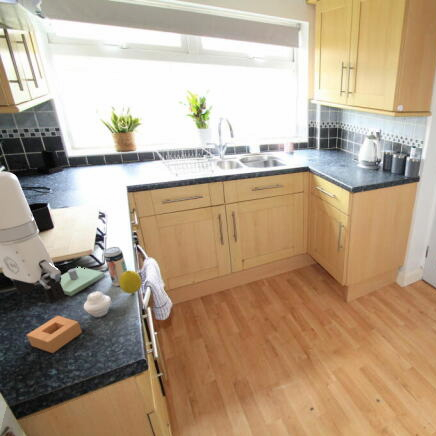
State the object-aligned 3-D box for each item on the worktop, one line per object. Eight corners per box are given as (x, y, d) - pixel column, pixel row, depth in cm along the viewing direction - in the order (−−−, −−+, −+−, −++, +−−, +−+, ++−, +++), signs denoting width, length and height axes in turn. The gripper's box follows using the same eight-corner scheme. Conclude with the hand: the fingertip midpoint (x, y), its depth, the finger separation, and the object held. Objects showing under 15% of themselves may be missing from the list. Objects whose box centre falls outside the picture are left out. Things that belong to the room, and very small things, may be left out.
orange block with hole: (52, 353, 75) (48, 342, 74) (31, 345, 77) (26, 334, 76) (82, 332, 82) (78, 321, 80) (61, 325, 84) (57, 315, 82)
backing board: (71, 296, 95) (66, 283, 93) (44, 288, 98) (39, 276, 96) (105, 276, 105) (101, 264, 103) (79, 270, 107) (76, 258, 106)
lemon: (147, 292, 98) (141, 269, 94) (128, 301, 93) (122, 278, 90) (138, 285, 100) (132, 263, 97) (119, 294, 96) (112, 272, 93)
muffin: (84, 313, 88) (76, 293, 85) (109, 303, 92) (103, 283, 90) (91, 324, 84) (84, 303, 82) (117, 312, 89) (111, 292, 86)
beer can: (111, 282, 102) (101, 249, 97) (128, 276, 105) (119, 244, 100) (114, 289, 99) (104, 255, 94) (131, 283, 101) (122, 250, 97)
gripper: (-36, 232, 67) (-2, 298, 74) (22, 244, 62) (52, 313, 69) (6, 218, 73) (33, 280, 80) (61, 228, 69) (85, 293, 76)
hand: (42, 295), depth 75 cm, fingers open, 9 cm apart
